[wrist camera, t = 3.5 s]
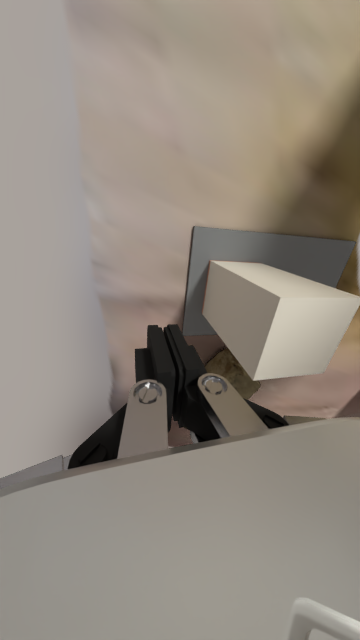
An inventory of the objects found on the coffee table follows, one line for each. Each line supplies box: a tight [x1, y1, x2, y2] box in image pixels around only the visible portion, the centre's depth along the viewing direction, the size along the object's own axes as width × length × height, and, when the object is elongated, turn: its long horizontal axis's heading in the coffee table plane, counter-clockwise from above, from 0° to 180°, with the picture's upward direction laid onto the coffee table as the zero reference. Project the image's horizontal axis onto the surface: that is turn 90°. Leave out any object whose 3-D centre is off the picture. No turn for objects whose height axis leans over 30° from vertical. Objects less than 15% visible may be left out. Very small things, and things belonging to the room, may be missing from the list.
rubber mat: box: [182, 226, 356, 336], centre depth 24 cm, size 12×20×1 cm, turn 85°
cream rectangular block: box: [202, 260, 360, 381], centre depth 18 cm, size 6×6×11 cm
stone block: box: [184, 348, 260, 429], centre depth 27 cm, size 6×12×5 cm, turn 140°
